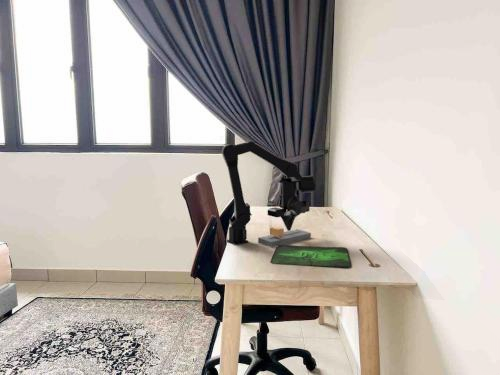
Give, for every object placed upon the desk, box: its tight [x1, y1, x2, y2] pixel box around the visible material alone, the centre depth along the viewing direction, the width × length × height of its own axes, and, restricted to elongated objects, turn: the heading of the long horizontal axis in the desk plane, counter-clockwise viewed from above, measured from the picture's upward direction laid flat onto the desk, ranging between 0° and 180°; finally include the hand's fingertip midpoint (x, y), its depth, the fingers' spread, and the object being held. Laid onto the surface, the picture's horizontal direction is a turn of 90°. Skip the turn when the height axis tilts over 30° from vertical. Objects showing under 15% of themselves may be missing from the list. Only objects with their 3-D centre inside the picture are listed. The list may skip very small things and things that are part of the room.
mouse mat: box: [269, 244, 352, 269], centre depth 136 cm, size 27×22×1 cm
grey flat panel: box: [257, 228, 312, 248], centre depth 156 cm, size 22×8×2 cm, turn 128°
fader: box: [269, 225, 285, 237], centre depth 153 cm, size 3×5×4 cm
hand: (288, 230), depth 157 cm, fingers closed
